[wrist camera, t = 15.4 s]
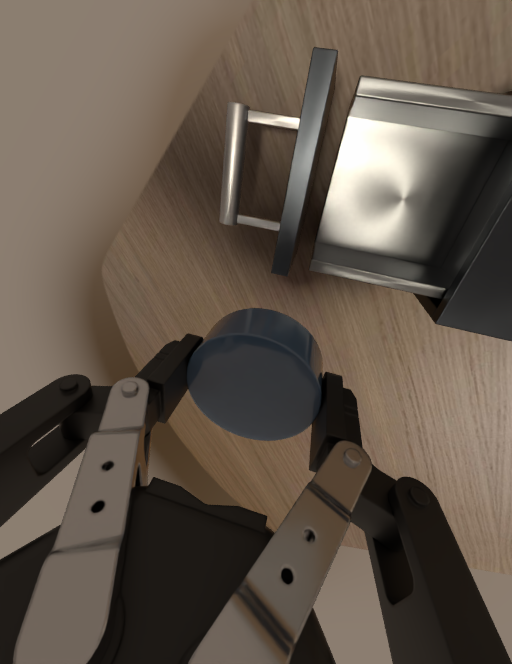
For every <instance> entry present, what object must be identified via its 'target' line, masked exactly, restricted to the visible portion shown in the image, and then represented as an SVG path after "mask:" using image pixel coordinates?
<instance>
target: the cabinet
mask: <svg viewBox="0 0 512 664" xmlns="http://www.w3.org/2000/svg"><path fill="white" fill-rule="evenodd" d="M506 95H512V91H510V92H508V93H506ZM413 294H414V295H415V296H416V298H417V299H418V300H419V302H420V303H421V305H422V306H423V307H424V309H425V310H426V311H427V313H428V314H429V316H430V317H431V318H432V320H433V321H434V322H435V324H439V325H443V326H447V327H452V328H456V329H460V330H465V331H469V332H473V333H478V334H482V335H486V336H491V337H495V338H499V339H504V340H508V341H512V180H511V182H510V184H509V185H508V187H507V189H506V191H505V192H504V194H503V196H502V198H501V199H500V201H499V203H498V204H497V206H496V208H495V210H494V211H493V213H492V215H491V217H490V218H489V220H488V222H487V223H486V225H485V227H484V229H483V230H482V232H481V234H480V236H479V237H478V239H477V241H476V242H475V244H474V246H473V248H472V249H471V251H470V253H469V255H468V256H467V258H466V260H465V261H464V263H463V265H462V267H461V268H460V270H459V272H458V274H457V275H456V277H455V279H454V281H453V282H452V284H451V286H450V287H449V289H448V291H447V293H446V294H445V296H444V298H443V299H438V298H434V297H429V296H424V295H420V294H415V293H413Z"/></svg>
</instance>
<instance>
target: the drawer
mask: <svg viewBox="0 0 512 664" xmlns="http://www.w3.org/2000/svg"><path fill="white" fill-rule="evenodd" d="M337 57H338V50H333V49H325V48H317V47H314V48H313V52H312V57H311V63H310V68H309V73H308V79H307V84H306V89H305V95H304V100H303V105H302V111H301V116H300V118H299V117H292V116H286V115H279V114H273V113H266V112H260V111H253V110H250V107H249V106H248V105H245V104H242V103H237V102H228V105H227V119H226V134H225V148H224V162H223V176H222V190H221V204H220V218H219V222H220V223H222V224H226V225H237V224H238V223H240V224H245V225H250V226H255V227H260V228H265V229H270V230H274V231H279V234H278V239H277V244H276V250H275V255H274V260H273V266H272V271H271V273H274V274H278V275H283V276H288V274H289V272H290V269H291V266H292V264H293V261H294V259H295V256H296V254H297V250H298V245H299V241H300V237H301V233H302V228H303V224H304V220H305V215H306V211H307V207H308V202H309V198H310V194H311V189H312V185H313V181H314V176H315V172H316V168H317V163H318V159H319V155H320V150H321V146H322V142H323V137H324V133H325V129H326V124H327V120H328V116H329V111H330V107H331V103H332V98H333V94H334V90H335V79H336V68H337ZM248 122H249V123H251V124H257V125H263V126H270V127H276V128H282V129H288V130H295V131H298V132H297V137H296V143H295V148H294V153H293V159H292V164H291V169H290V175H289V180H288V185H287V191H286V196H285V202H284V207H283V212H282V218H281V222H280V221H275V220H270V219H265V218H260V217H255V216H250V215H245V214H239V207H240V198H241V188H242V179H243V170H244V160H245V151H246V141H247V132H248ZM511 180H512V95H506V94H498V93H491V92H483V91H475V90H468V89H460V88H453V87H445V86H438V85H430V84H423V83H415V82H408V81H400V80H393V79H385V78H377V77H370V76H360V78H359V81H358V84H357V86H356V89H355V92H354V95H353V98H352V101H351V104H350V108H349V112H348V116H347V119H346V123H345V127H344V131H343V135H342V139H341V142H340V146H339V150H338V154H337V158H336V162H335V165H334V169H333V173H332V177H331V181H330V185H329V188H328V192H327V196H326V200H325V204H324V208H323V211H322V215H321V219H320V223H319V227H318V231H317V234H316V238H315V242H314V246H313V250H312V255H311V261H310V266H309V270H311V271H315V272H320V273H324V274H329V275H333V276H338V277H342V278H347V279H352V280H356V281H361V282H365V283H370V284H374V285H379V286H383V287H388V288H393V289H397V290H402V291H406V292H411V293H415V294H420V295H424V296H429V297H434V298H438V299H443V298H444V296H445V294H446V293H447V291H448V289H449V287H450V286H451V284H452V282H453V281H454V279H455V277H456V275H457V274H458V272H459V270H460V268H461V267H462V265H463V263H464V261H465V260H466V258H467V256H468V255H469V253H470V251H471V249H472V248H473V246H474V244H475V242H476V241H477V239H478V237H479V236H480V234H481V232H482V230H483V229H484V227H485V225H486V223H487V222H488V220H489V218H490V217H491V215H492V213H493V211H494V210H495V208H496V206H497V204H498V203H499V201H500V199H501V198H502V196H503V194H504V192H505V191H506V189H507V187H508V185H509V184H510V182H511Z"/></svg>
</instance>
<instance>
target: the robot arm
mask: <svg viewBox="0 0 512 664" xmlns="http://www.w3.org/2000/svg"><path fill="white" fill-rule="evenodd" d="M202 341H203V337H200V336H196V335H192V334H189V333H188V334H186V335H185V337H184V338H183V339H182V340H181V341H180V342H179V341H176V340H175V341H172V342H170V343H168V344H166V345H165V346H164V347H163V348H162V349H161V350H160V351H159V353H157V354H156V355H155V356H154V358H153V359H152V360H151V361H150V362H149V363H148V364H147V365H146V366H145V367H144V368H143V369H142V370H141V371H140V372H139V373H138V374H137V375H136V376H135V377H130V378H125V379H122V380H120V381H118V382H117V383H116V384H114V385H113V386H91V383H90V380H89V379H88V378H87V377H86V376H83V375H78V374H74V375H68V376H64V377H61V378H59V379H57V380H55V381H53V382H52V383H50V384H49V385H47V386H45V387H44V388H42V389H40V390H39V391H37V392H36V393H34V394H33V395H31V396H29V397H28V398H26V399H24V400H23V401H21V402H20V403H18V404H16V405H15V406H13V407H11V408H10V409H8V410H7V411H5V412H3V413H2V414H0V527H1V526H2V525H3V524H4V523H5V522H6V521H7V520H8V519H10V517H12V516H13V515H14V514H15V513H16V512H17V511H18V510H19V509H20V508H21V507H23V506H24V505H25V504H26V503H27V502H28V501H29V500H30V499H31V498H32V497H33V496H34V495H36V494H37V493H38V492H39V491H40V490H41V489H42V488H43V487H44V486H45V485H46V484H48V483H49V482H50V481H51V480H52V479H53V478H54V477H55V476H56V475H57V474H58V473H59V472H61V471H62V470H63V469H64V468H65V467H66V466H67V465H68V464H69V463H70V462H71V461H72V460H73V459H75V458H76V457H77V456H78V455H79V454H80V453H81V452H82V451H83V450H84V449H85V448H86V450H85V453H84V456H83V459H82V462H81V465H80V468H79V471H78V474H77V477H76V480H75V483H74V487H73V490H72V493H71V496H70V499H69V502H68V505H67V508H66V512H65V514H64V517H63V520H62V523H61V525H59V526H57V527H56V528H54V529H52V530H51V531H49V532H47V533H45V534H44V535H42V536H40V537H38V538H37V539H35V540H33V541H31V542H30V543H28V544H26V545H25V546H23V547H21V548H19V549H18V550H16V551H14V552H12V553H11V554H9V555H8V556H6V557H4V558H2V559H1V560H0V664H336V663H335V660H334V658H333V655H332V653H331V650H330V648H329V646H328V643H327V641H326V638H325V636H324V633H323V631H322V628H321V626H320V624H319V621H318V619H317V617H316V614H315V611H314V609H313V605H314V602H315V601H316V598H317V596H318V594H319V592H320V589H321V587H322V585H323V583H324V580H325V578H326V576H327V574H328V571H329V569H330V567H331V565H332V562H333V560H334V558H335V556H336V554H337V551H338V549H339V547H340V545H341V542H342V540H343V538H344V536H345V534H346V531H347V529H348V527H349V525H350V522H352V523H354V524H355V525H356V526H358V527H359V528H361V529H362V530H363V531H364V532H365V536H366V541H367V546H368V550H369V555H370V559H371V564H372V568H373V573H374V578H375V583H376V587H377V592H378V596H379V601H380V606H381V610H382V615H383V620H384V624H385V629H386V633H387V638H388V643H389V648H390V652H391V657H392V661H393V664H512V662H511V660H510V658H509V656H508V654H507V652H506V649H505V647H504V645H503V643H502V640H501V638H500V636H499V634H498V632H497V629H496V627H495V625H494V623H493V621H492V618H491V616H490V614H489V612H488V610H487V607H486V605H485V603H484V601H483V599H482V596H481V595H480V592H479V590H478V588H477V585H476V583H475V581H474V579H473V577H472V574H471V572H470V570H469V568H468V566H467V563H466V561H465V559H464V557H463V555H462V553H461V550H460V548H459V546H458V544H457V542H456V539H455V537H454V535H453V533H452V531H451V528H450V526H449V524H448V522H447V520H446V517H445V515H444V513H443V511H442V509H441V506H440V504H439V502H438V500H437V498H436V497H435V495H434V494H433V493H432V491H431V490H430V489H429V488H428V487H427V486H426V485H424V484H423V483H422V482H420V481H418V480H416V479H414V478H411V477H401V478H399V479H398V480H397V481H396V480H395V479H393V478H391V477H390V476H388V475H386V474H385V473H383V472H382V471H380V470H379V469H377V468H376V467H375V466H374V465H373V464H372V462H371V459H370V457H369V455H368V454H367V453H366V451H365V450H364V449H363V447H362V440H361V432H360V424H359V418H358V410H357V409H358V408H357V400H356V398H355V396H354V394H353V393H352V391H351V390H349V389H346V388H343V380H342V376H340V375H336V374H333V373H329V372H325V374H324V376H323V378H322V403H321V407H320V411H319V413H318V415H317V417H316V419H315V420H314V422H313V423H312V432H311V447H310V462H309V470H310V471H313V472H316V474H315V476H314V477H313V479H312V480H311V482H309V483H308V484H307V486H306V487H305V489H304V490H303V492H302V493H301V495H300V496H299V498H298V499H297V501H296V502H295V504H294V505H293V507H292V508H291V510H290V511H289V513H288V514H287V516H286V517H285V519H284V520H283V522H282V523H281V525H280V526H279V528H278V529H277V531H276V532H275V533H274V532H273V531H272V530H271V529H269V528H268V527H267V526H266V521H267V516H265V515H263V514H260V513H257V512H254V511H251V510H248V509H245V508H242V507H239V506H222V505H207V504H204V503H203V502H202V501H200V500H199V499H197V498H196V497H195V496H193V495H192V494H191V493H189V492H188V491H186V490H185V489H183V488H182V487H181V486H178V485H175V484H172V483H169V482H167V481H164V480H161V479H158V478H155V477H153V479H152V481H151V482H150V484H149V486H148V466H149V457H150V448H151V439H152V428H153V426H154V425H155V423H156V422H157V421H158V422H162V423H166V422H167V420H168V419H169V417H170V416H171V414H172V413H173V411H174V409H175V408H176V406H177V405H178V403H179V402H180V400H181V399H182V397H183V396H184V394H185V393H186V391H187V390H188V386H187V380H186V377H187V366H188V362H189V360H190V357H191V356H192V354H193V353H194V351H195V350H196V349H197V347H198V346H199V345H200V343H201V342H202ZM57 425H59V426H58V427H57V428H55V429H54V430H53V431H51V432H50V433H49V434H48V435H46V436H45V437H44V438H42V439H41V440H40V441H39V442H37V443H36V444H35V445H33V444H34V443H35V442H36V441H37V440H38V439H40V438H41V437H42V436H43V435H45V434H46V433H48V432H49V431H50V430H52V429H53V428H54V427H55V426H57ZM32 445H33V446H32ZM31 446H32V447H31ZM30 447H31V448H30Z"/></svg>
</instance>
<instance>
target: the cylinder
mask: <svg viewBox="0 0 512 664" xmlns="http://www.w3.org/2000/svg"><path fill="white" fill-rule="evenodd" d="M322 374H323V361H322V355H321V351H320V349H319V346H318V344H317V342H316V341H315V339H314V338H313V336H312V335H311V334H310V333H309V331H308V330H307V329H306V328H305V327H303V326H302V325H301V324H300V323H299V322H297V321H296V320H294V319H293V318H291V317H289V316H287V315H285V314H282V313H280V312H277V311H273V310H269V309H262V308H250V309H243V310H238V311H235V312H233V313H230V314H228V315H226V316H225V317H223V318H222V319H220V320H219V321H218V322H217V323H216V324H215V325H214V326H213V328H212V329H211V330H210V332H209V333H208V334H207V335H206V337H205V338H204V339H203V341H202V342H201V343H200V345H199V346H198V347H197V349H196V350H195V351H194V353H193V354H192V356H191V357H190V360H189V362H188V366H187V377H186V380H187V386H188V390H189V392H190V395H191V397H192V399H193V400H194V402H195V404H196V405H197V407H198V408H199V409H200V410H201V411H202V412H203V414H204V415H205V416H207V417H208V418H209V419H210V420H211V421H212V422H214V423H215V424H216V425H218V426H220V427H221V428H223V429H225V430H227V431H229V432H231V433H233V434H236V435H238V436H241V437H245V438H249V439H254V440H262V441H275V440H282V439H286V438H290V437H293V436H295V435H297V434H299V433H301V432H303V431H304V430H305V429H307V428H308V427H309V426H310V425H311V424H312V423H313V422H314V420H315V419H316V417H317V415H318V413H319V411H320V407H321V403H322Z"/></svg>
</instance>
